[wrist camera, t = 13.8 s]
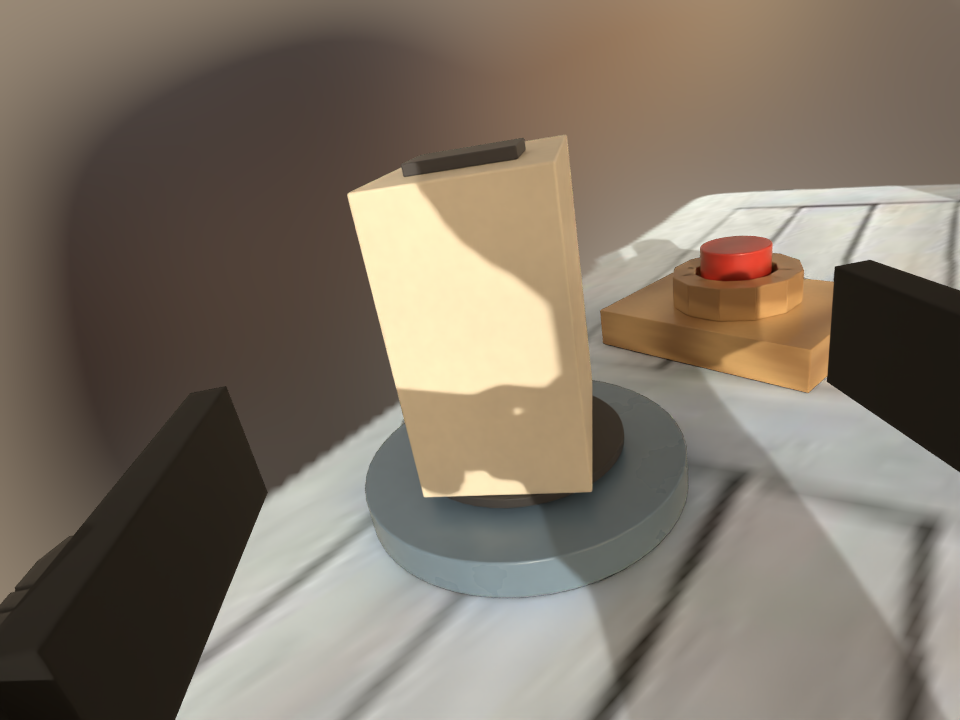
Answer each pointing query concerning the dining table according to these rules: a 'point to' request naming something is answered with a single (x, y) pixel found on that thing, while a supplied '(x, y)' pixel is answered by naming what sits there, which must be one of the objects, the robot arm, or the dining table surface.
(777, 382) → the button block
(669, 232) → the dining table surface
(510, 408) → the panel
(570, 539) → the swivel base
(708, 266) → the button
